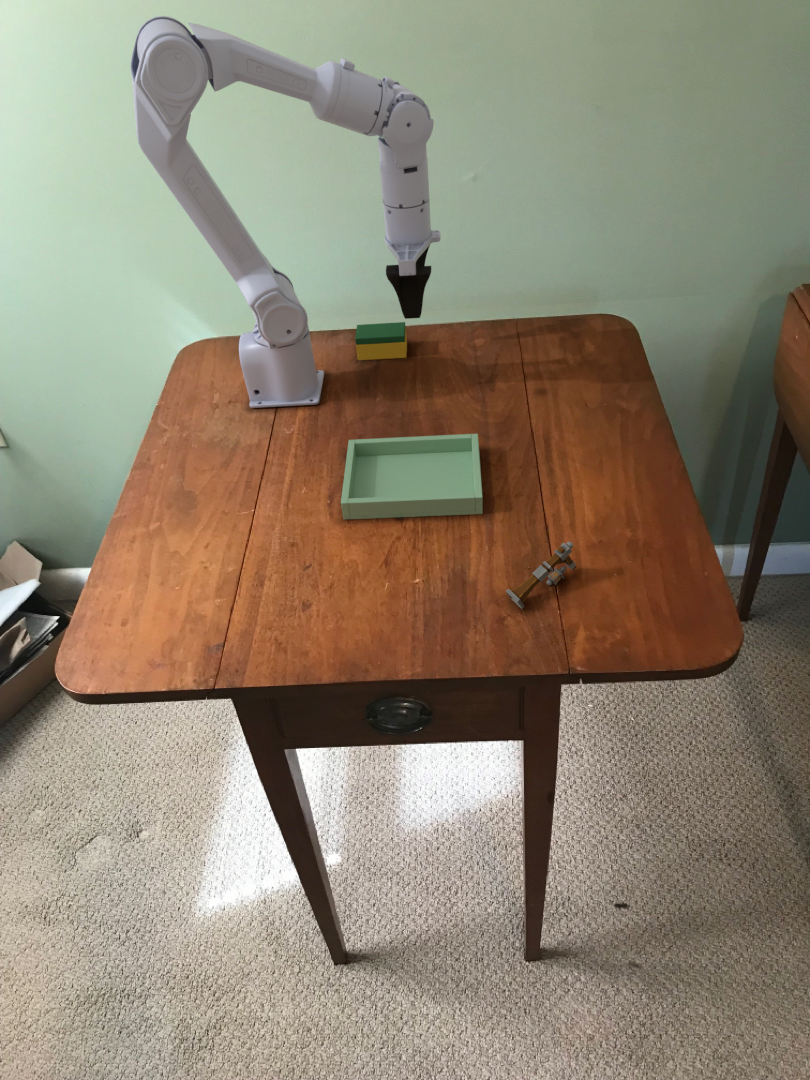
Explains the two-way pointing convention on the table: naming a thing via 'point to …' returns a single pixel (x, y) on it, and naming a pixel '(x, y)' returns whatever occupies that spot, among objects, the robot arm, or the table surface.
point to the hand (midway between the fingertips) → (413, 303)
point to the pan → (412, 477)
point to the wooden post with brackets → (544, 573)
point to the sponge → (381, 341)
